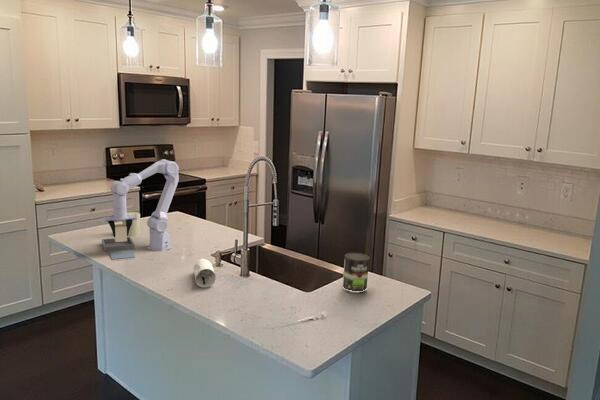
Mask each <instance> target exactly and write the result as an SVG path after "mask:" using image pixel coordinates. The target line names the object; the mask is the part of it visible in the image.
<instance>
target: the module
mask: <svg viewBox="0 0 600 400" xmlns="http://www.w3.org/2000/svg"><path fill="white" fill-rule="evenodd" d="M113 238H114V240H115V242H123V241H127V226H126V225H125V224H122V223H120V224H119V223H118V224H115V237H113Z"/></svg>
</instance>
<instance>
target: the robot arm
mask: <svg viewBox="0 0 600 400" xmlns="http://www.w3.org/2000/svg"><path fill="white" fill-rule="evenodd" d="M179 170H180V167H179V165H178V164H177V162H175V161H171V160H167V159H165V158H163V159H162V158H161V159H160V160H159V161H155V162H154V163H153V164H151V165H150V166H148V167H147V168H145V169H144V170H142V171H140V172H138V173H135V172H130V173H129V174H128V176H125V177H124V178H120V179H119V180H116V181H113V182H112V184H111V186H110V191H111V192H112V208H113V209H112V210H113V213H112V214H113V215H112V216H104V217H103V218H102V221H103V223H106V222H107V223H108V225H109V227H110V230H111V231H112V237H113V238H114V237H115V225H116V224H115V223H116V222H122V221H126V226H127V236H128V233H129V230H130V227H131V225H132V223H133V221H132V220H137V216H136V215H127V213H128V210H127V208H128V206H127V194H128V193H129V191H130V190H131V189H134V188H135V187H137V186H139V185H141V184H142V180H143V181H144V180H145V179H147V178H149V177H151V176H153V175H155V174H156V173H157V174H158V173H159V174H162V175H163V176H164V178H165V179H166V181H165V184H164V187H163V190H162V191H161V192H162V193H161V195H160V198H159V200H158V203H157V206H156V209H155V210H154V211H153V212H152V213H151V216H150V217H148V219H147V221H146V222H147V227H148V228H149V246H148V247H146V249H149V250H153V251H156V252H164V251H167V250H170V249H172V247H171V235H170V233H168V232H167V231H166V230H167V228H168V220H169V218H168V212H169V208H170V205H171V203H172V200H173V197H174V195H175V193H176V189H177V187H178V183H179V180H180V177H179Z"/></svg>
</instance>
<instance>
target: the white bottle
mask: <svg viewBox="0 0 600 400" xmlns="http://www.w3.org/2000/svg"><path fill="white" fill-rule="evenodd" d="M193 266H194V267H193V273H194V279H195V283H196V284H197V285H198V287H201V288H208V287H210V286H212V285H214V284H215V282H216V279H217V278H216V273H215V270H214V268H213V264H212V263H211V261H210V260H208V259H205V258H199V259H197V260H196V261H195V264H194V265H193ZM202 277H203V278H202ZM203 279H204V280H203ZM204 282H205V283H204Z"/></svg>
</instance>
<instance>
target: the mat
mask: <svg viewBox="0 0 600 400" xmlns="http://www.w3.org/2000/svg"><path fill="white" fill-rule="evenodd" d="M108 253H109V256H110V259H111V261H117V262H118V261H119V260H129V259H135V258H136V256H135V254H134V252H133V250H123V251H113V252H108Z"/></svg>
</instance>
